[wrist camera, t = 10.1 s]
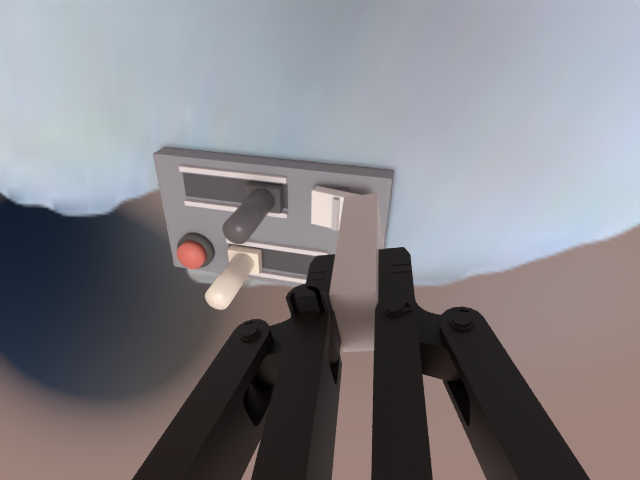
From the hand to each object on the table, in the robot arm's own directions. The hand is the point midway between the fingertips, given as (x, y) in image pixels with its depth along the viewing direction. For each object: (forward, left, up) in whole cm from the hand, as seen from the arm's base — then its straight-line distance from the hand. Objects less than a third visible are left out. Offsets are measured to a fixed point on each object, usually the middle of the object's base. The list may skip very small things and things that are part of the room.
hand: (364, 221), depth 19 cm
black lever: (-5, -17, -24) cm, 30 cm away
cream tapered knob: (-3, -26, -24) cm, 35 cm away
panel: (-3, -20, -27) cm, 34 cm away
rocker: (+2, -12, -23) cm, 26 cm away
